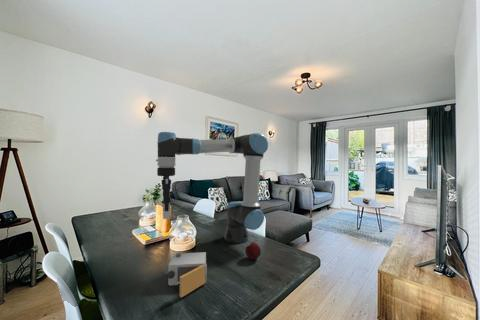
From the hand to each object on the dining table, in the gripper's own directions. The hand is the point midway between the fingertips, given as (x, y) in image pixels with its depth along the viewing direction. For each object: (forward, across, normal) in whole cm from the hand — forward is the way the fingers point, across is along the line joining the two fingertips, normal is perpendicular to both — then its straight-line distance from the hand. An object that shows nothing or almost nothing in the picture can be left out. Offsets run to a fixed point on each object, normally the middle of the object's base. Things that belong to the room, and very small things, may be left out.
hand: (165, 214), depth 92 cm
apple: (+25, +4, +41) cm, 48 cm away
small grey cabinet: (+25, +9, +9) cm, 28 cm away
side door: (+24, +19, +10) cm, 32 cm away
